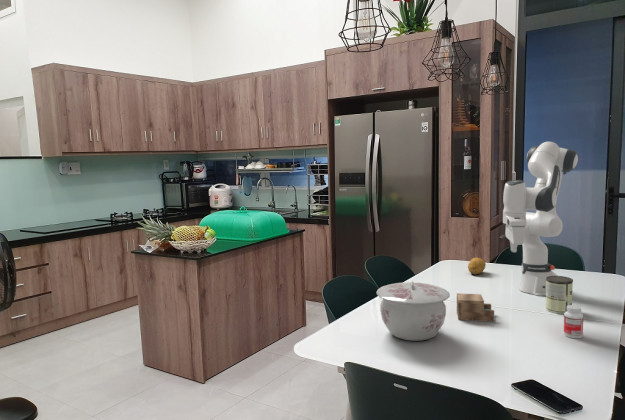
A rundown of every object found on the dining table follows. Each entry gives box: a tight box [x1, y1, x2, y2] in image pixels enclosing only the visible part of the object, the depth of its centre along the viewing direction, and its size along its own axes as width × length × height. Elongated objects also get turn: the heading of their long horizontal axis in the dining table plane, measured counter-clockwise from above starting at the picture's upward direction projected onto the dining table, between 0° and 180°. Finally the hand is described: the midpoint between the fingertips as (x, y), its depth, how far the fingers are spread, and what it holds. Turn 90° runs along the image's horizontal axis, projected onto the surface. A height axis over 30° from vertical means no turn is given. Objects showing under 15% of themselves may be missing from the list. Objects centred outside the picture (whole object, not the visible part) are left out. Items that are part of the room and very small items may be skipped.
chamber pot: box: [376, 281, 451, 342], centre depth 173 cm, size 28×28×21 cm
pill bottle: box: [563, 304, 584, 339], centre depth 168 cm, size 6×6×11 cm
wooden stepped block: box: [456, 292, 495, 322], centre depth 191 cm, size 14×10×8 cm
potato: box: [467, 257, 486, 275], centre depth 263 cm, size 10×13×9 cm
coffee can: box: [545, 275, 574, 315], centre depth 196 cm, size 10×10×14 cm
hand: (513, 251), depth 191 cm, fingers closed
